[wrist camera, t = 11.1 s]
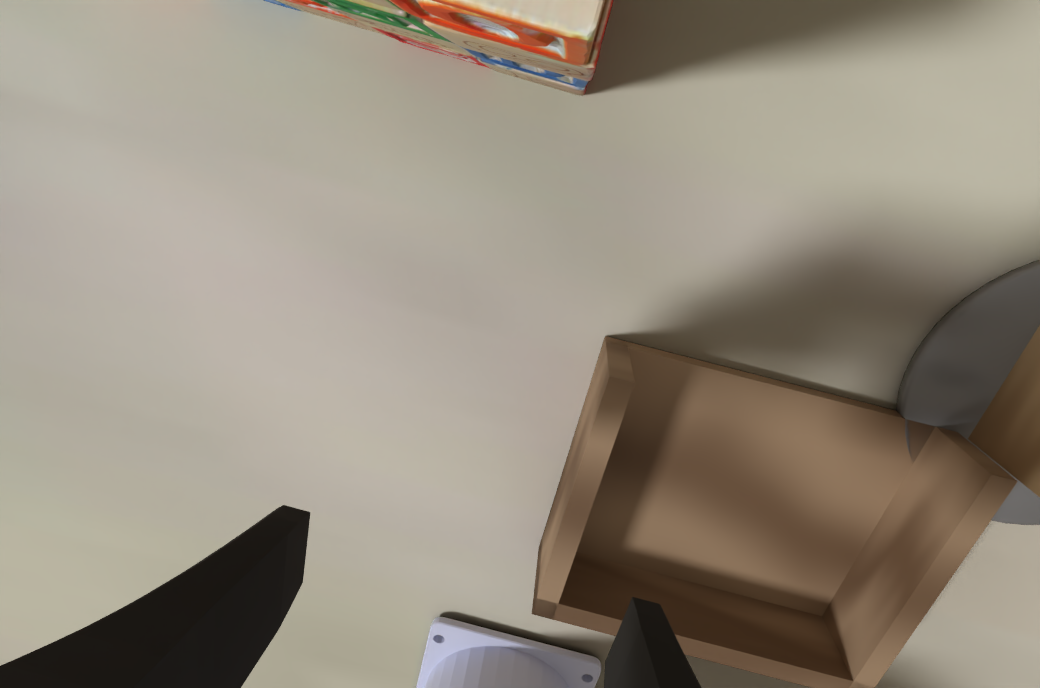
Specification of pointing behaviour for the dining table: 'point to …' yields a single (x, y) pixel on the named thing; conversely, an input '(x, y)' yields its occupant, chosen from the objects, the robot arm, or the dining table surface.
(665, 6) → the dining table surface
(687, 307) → the dining table surface
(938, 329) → the slate coaster
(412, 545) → the dining table surface
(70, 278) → the dining table surface
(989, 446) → the oak block
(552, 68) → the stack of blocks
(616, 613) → the crate
